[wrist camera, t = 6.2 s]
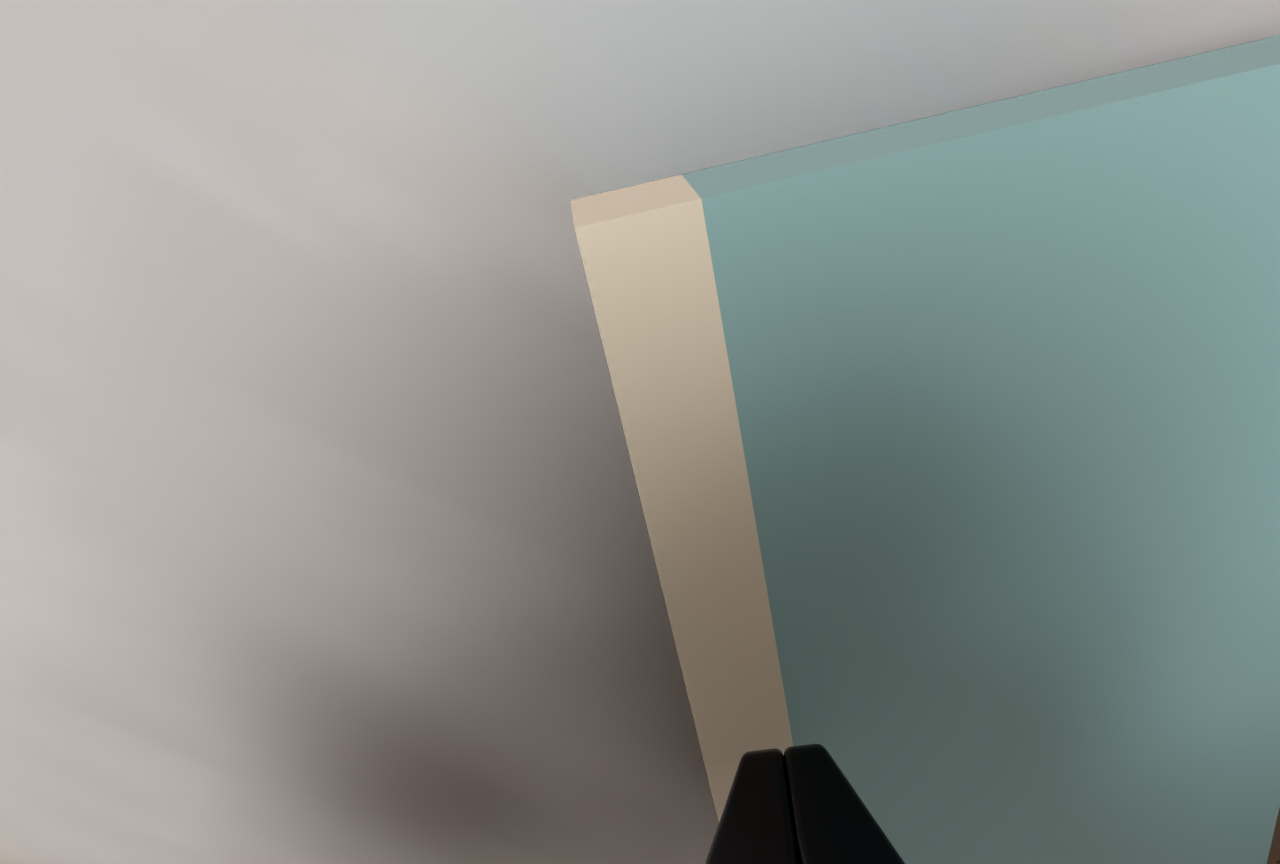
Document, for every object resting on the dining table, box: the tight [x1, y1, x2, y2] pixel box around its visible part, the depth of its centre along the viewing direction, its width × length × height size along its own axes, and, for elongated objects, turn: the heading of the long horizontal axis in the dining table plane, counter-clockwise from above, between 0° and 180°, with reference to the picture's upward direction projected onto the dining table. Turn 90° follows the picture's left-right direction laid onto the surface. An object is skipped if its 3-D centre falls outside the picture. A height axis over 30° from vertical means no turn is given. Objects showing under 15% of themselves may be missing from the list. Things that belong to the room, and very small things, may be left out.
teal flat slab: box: [570, 35, 1280, 864], centre depth 10 cm, size 1×12×7 cm
